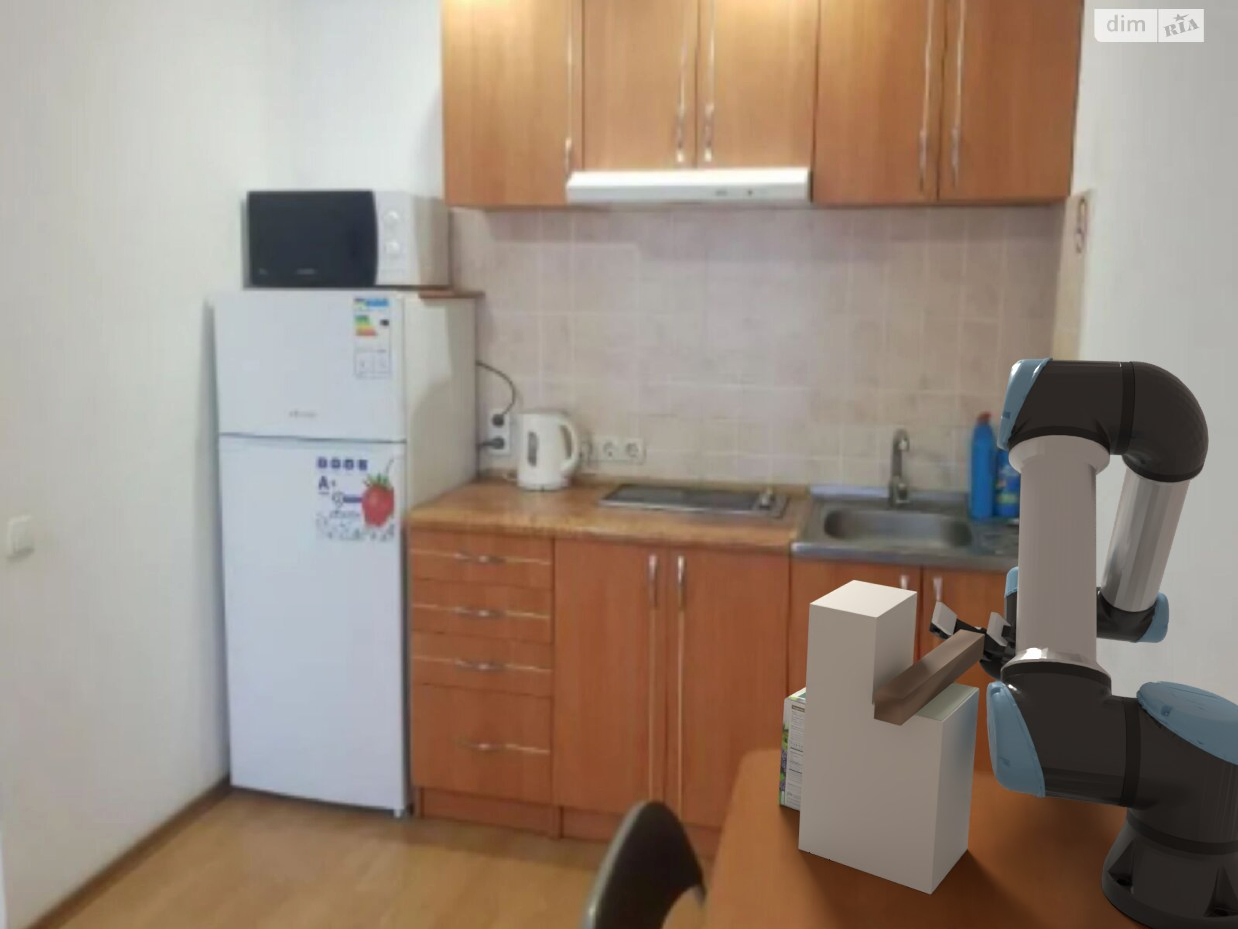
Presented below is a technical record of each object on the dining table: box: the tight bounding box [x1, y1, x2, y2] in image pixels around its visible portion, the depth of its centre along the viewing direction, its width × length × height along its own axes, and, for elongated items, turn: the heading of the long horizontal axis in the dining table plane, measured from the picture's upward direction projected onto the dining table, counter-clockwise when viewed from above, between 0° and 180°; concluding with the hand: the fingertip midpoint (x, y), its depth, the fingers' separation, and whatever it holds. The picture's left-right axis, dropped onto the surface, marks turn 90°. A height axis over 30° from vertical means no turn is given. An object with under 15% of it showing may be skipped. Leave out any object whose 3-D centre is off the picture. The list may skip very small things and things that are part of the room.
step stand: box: [798, 579, 980, 895], centre depth 129 cm, size 16×12×30 cm
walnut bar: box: [874, 629, 985, 726], centre depth 128 cm, size 3×26×3 cm, turn 144°
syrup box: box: [778, 686, 806, 812], centre depth 141 cm, size 6×6×14 cm
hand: (964, 617), depth 138 cm, fingers open, 6 cm apart
